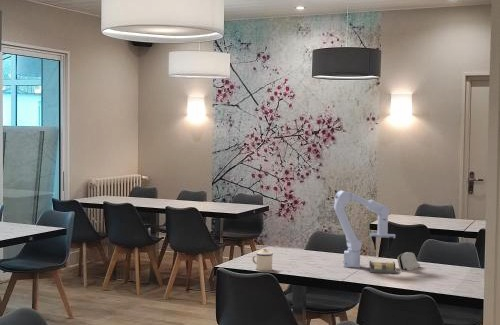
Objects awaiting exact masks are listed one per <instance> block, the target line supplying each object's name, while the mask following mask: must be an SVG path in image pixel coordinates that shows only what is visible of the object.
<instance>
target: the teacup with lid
mask: <svg viewBox="0 0 500 325" xmlns="http://www.w3.org/2000/svg"><path fill="white" fill-rule="evenodd" d="M255 257H256V260H255ZM251 260H252V262H253V264H255V265H256V270H257V271H265V272H268V271H271V270H273V252H272V251H269V250H267V248H266V247H263V248H262V249H261V250H260V251H257V252H256V255H255V254H254V255H252V259H251Z"/></svg>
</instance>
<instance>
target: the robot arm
mask: <svg viewBox="0 0 500 325" xmlns="http://www.w3.org/2000/svg"><path fill="white" fill-rule="evenodd" d="M353 201H354V202H356V203H359V204H361V205H363V206H365V208H366V209H367V210H369V211H370V212H373V213H375V214H377V231H376V233H373V232H372V233H369V238H371V241H372V243H373V247H374V251H376V250H377V247H376V245H377V242H376V241H377V238H385V239H386V238H388V244H387V250H388V251H390V249H391V245H392V244H393V241H394V239H396V234H394V233H388V232H389V230H388V229H389V228H388V225H389V215H390V212H391V211H390V209H389V207H388V206H386V205H383V203H381V202H380V203H379V202H377V201H376V199H368V200H367V199H365V198H363V197H362V196H359V195H358V194H355V193H352V192H348V191H345V190H338V191H336V193H335V196H334V204H333V209H334V212H335V215H336V217H337V219H338V221H339V223H340V226H341V228H342V231H343V233H344V235H345V240H346V246H347V250H344V252H343V262H342V263H343V267H344V268H360V269H361V266H362V265H361V249H362V246H363V245H362V244H363V243H362V242H361V241H360V240H359V239H358V237H357V235H356V234H355V232H354V230H353V228H352V225H351V223H350V221H349V218H348V216H347V213H346V211H345V208H346V205H347V204H348V203H349V202H353Z"/></svg>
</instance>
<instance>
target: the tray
mask: <svg viewBox="0 0 500 325" xmlns="http://www.w3.org/2000/svg"><path fill="white" fill-rule="evenodd" d="M369 273H371V274H386V275H387V274H391V275H397V268H396V266H395V267H394V270H386V267H384V266H382V269H374V266H370V268H369Z"/></svg>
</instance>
